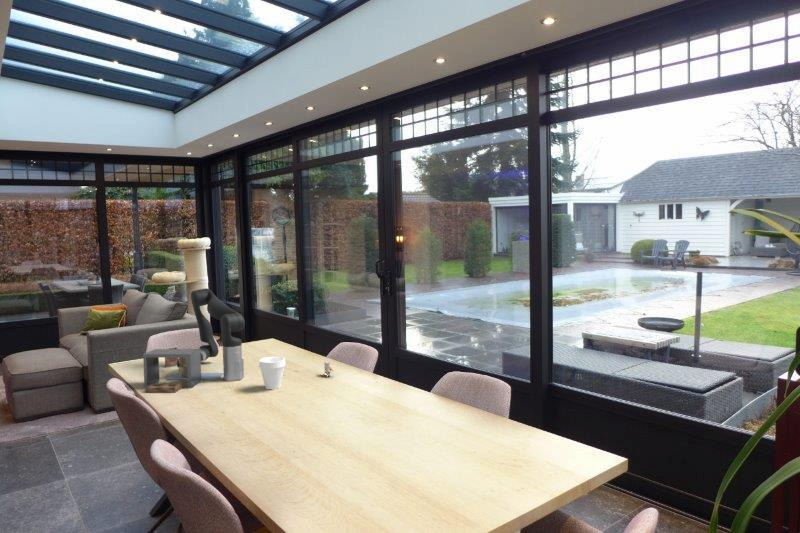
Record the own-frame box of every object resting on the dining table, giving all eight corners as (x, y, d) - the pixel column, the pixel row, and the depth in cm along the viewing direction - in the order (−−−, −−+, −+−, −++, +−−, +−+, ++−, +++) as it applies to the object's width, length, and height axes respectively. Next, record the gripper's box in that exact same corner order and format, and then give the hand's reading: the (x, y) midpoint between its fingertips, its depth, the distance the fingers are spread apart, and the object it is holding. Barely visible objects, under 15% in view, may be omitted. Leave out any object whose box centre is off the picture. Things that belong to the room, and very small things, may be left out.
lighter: (166, 367, 312) (166, 349, 311) (163, 366, 314) (162, 349, 313) (180, 364, 318) (179, 347, 318) (176, 363, 321) (176, 346, 320)
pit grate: (181, 388, 270) (181, 383, 269) (175, 392, 263) (174, 387, 262) (153, 388, 270) (153, 383, 270) (145, 392, 263) (145, 387, 263)
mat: (224, 373, 296) (224, 372, 296) (216, 379, 284) (216, 378, 284) (176, 373, 298) (176, 372, 298) (166, 379, 286) (166, 378, 286)
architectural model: (330, 374, 293) (330, 360, 293) (335, 377, 287) (335, 363, 286) (324, 375, 292) (324, 361, 291) (329, 378, 285) (328, 364, 285)
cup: (279, 391, 262) (278, 362, 261) (255, 390, 264) (254, 362, 263) (290, 384, 274) (289, 356, 273) (266, 383, 276) (265, 356, 275)
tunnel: (201, 381, 282) (200, 348, 281) (191, 388, 270) (190, 354, 269) (156, 381, 283) (155, 349, 282) (144, 388, 271) (143, 354, 270)
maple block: (191, 374, 292) (190, 353, 292) (188, 376, 288) (187, 355, 287) (183, 374, 293) (182, 353, 292) (179, 376, 288) (178, 355, 287)
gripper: (183, 350, 304) (169, 358, 287) (209, 350, 304) (196, 358, 287) (184, 364, 305) (169, 372, 288) (209, 364, 304) (196, 372, 287)
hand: (183, 365), depth 287 cm, fingers closed on maple block, 4 cm apart
